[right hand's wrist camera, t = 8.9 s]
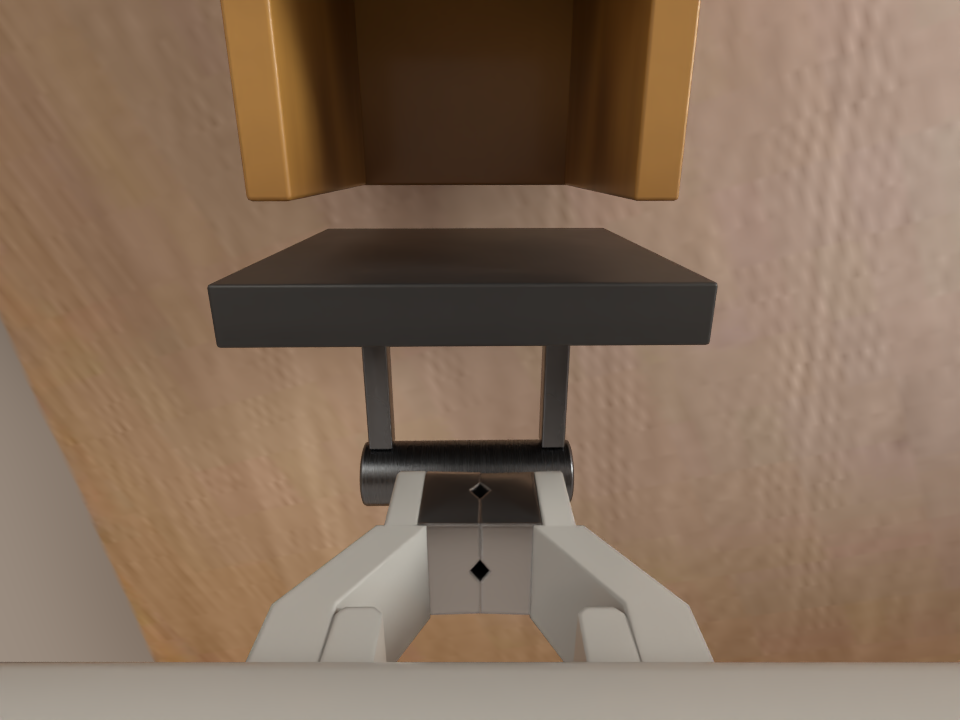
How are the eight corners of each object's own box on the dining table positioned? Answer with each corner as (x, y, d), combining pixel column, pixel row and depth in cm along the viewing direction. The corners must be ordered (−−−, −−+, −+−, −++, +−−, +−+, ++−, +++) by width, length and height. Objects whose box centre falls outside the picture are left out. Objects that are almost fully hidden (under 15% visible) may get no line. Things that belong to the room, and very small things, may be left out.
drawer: (591, 407, 21) (676, 576, 12) (343, 409, 21) (254, 582, 12) (658, -517, 13) (1023, -1818, 4) (259, -526, 13) (-158, -1892, 4)
